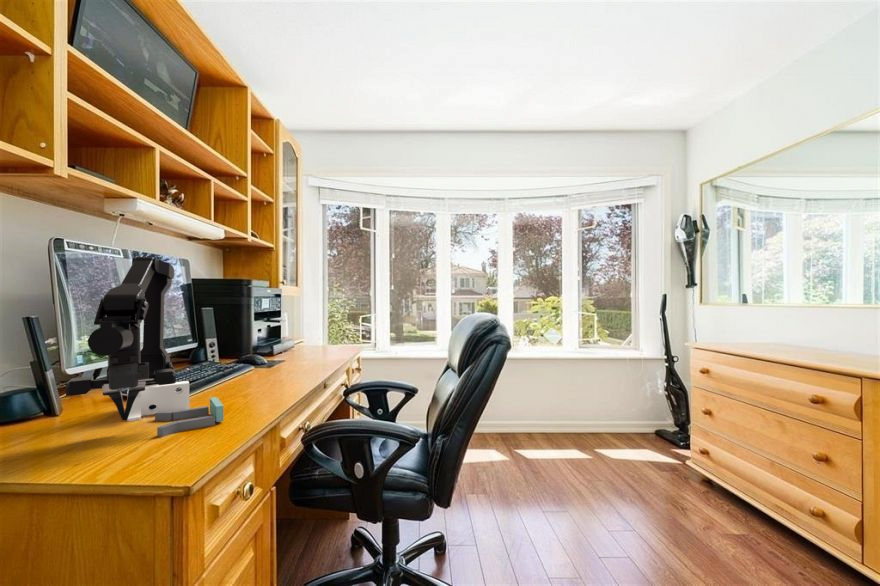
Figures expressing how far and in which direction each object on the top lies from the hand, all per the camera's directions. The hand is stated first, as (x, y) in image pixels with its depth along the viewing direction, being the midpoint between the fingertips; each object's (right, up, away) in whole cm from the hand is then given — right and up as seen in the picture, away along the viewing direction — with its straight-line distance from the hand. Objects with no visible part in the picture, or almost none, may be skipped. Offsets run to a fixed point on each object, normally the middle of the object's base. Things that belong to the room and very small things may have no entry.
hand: (124, 420), depth 89 cm
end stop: (+14, -3, +11) cm, 18 cm away
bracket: (-5, 0, +18) cm, 19 cm away
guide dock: (+9, -3, +7) cm, 12 cm away
